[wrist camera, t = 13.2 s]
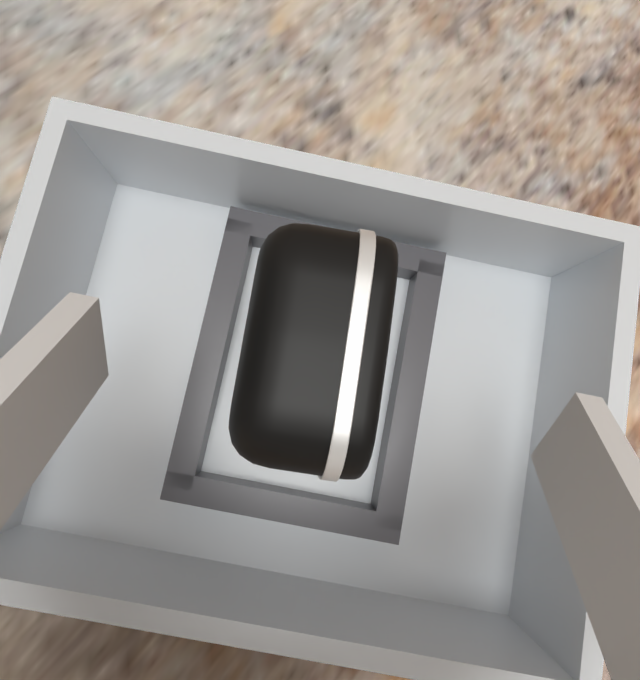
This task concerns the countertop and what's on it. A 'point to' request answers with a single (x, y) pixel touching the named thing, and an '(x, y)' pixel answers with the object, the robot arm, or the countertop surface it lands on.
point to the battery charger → (315, 351)
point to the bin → (292, 487)
